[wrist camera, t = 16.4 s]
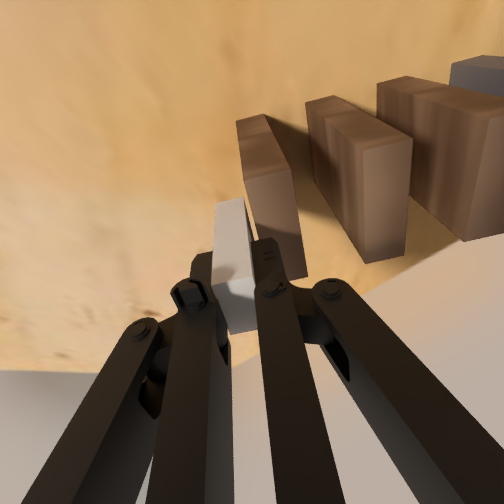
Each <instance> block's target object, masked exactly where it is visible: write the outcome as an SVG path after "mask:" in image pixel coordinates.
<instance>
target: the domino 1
mask: <svg viewBox="0 0 504 504" xmlns="http://www.w3.org/2000/svg"><path fill="white" fill-rule="evenodd" d="M236 127H237V134H238V142H239V150H240V157H241V165H242V172H243V180H244V184H245V188H246V192H247V195H248V199H249V203H250V207H251V211H252V215H253V218H254V222H255V226H256V230H257V234H258V237H259V240H261V239H266V238H270V237H272V238H273V239H274V240H275V241H277V242H278V245H279V249H280V253H281V257H282V261H283V265H284V269H285V273H286V276H287V279H288V281H292V280H296V279H301V278H305V277H308V272H307V266H306V260H305V254H304V248H303V242H302V235H301V229H300V223H299V217H298V211H297V205H296V198H295V192H294V186H293V180H292V174H291V169H290V167H289V165H288V163H287V161H286V159H285V156H284V154H283V152H282V150H281V148H280V146H279V144H278V142H277V140H276V138H275V136H274V134H273V132H272V130H271V128H270V126H269V124H268V122H267V120H266V118H265V116H264V114H260V115H257V116H253V117H249V118H245V119H242V120H238V121H236Z"/></svg>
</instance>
